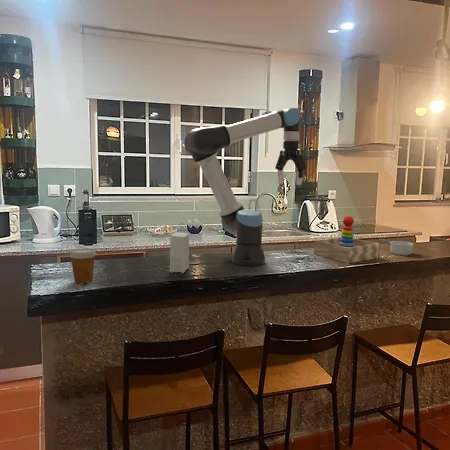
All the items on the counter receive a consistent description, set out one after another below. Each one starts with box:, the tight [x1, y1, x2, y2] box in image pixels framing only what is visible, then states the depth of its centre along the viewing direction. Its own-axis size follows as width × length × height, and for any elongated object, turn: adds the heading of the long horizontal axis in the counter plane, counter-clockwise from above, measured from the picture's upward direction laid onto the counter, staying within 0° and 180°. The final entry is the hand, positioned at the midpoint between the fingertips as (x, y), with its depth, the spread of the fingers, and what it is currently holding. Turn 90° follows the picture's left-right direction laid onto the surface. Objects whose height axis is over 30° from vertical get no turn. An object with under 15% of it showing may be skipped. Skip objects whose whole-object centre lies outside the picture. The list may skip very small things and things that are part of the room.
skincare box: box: [169, 231, 190, 274], centre depth 182 cm, size 8×7×16 cm
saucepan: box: [378, 238, 415, 256], centre depth 227 cm, size 12×20×6 cm, turn 30°
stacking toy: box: [340, 215, 355, 248], centre depth 214 cm, size 8×8×19 cm
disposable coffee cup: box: [68, 247, 97, 284], centre depth 164 cm, size 10×10×12 cm
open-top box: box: [313, 236, 381, 264], centre depth 215 cm, size 22×22×7 cm
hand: (289, 184), depth 217 cm, fingers open, 13 cm apart
